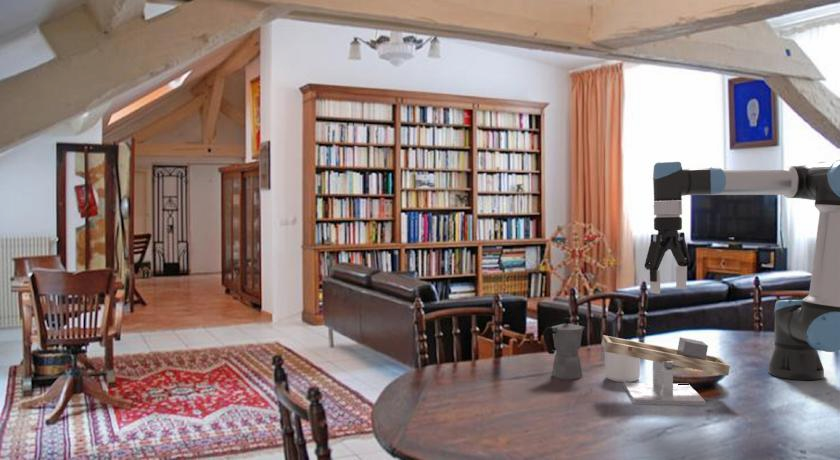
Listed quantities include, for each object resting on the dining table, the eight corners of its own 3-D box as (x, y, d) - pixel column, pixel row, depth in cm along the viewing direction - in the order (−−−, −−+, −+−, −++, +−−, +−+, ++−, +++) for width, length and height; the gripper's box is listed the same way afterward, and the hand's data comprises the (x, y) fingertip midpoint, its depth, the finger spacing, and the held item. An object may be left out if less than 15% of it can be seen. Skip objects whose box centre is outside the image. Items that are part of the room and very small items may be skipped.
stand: (688, 388, 204) (688, 349, 203) (705, 405, 186) (705, 363, 186) (623, 386, 206) (623, 348, 206) (634, 404, 188) (634, 362, 188)
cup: (641, 384, 209) (641, 350, 209) (606, 382, 211) (606, 349, 211) (637, 375, 219) (637, 343, 218) (604, 374, 221) (604, 342, 220)
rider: (698, 359, 197) (702, 341, 197) (704, 364, 191) (708, 345, 191) (676, 354, 198) (679, 337, 198) (681, 359, 192) (685, 341, 192)
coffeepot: (574, 370, 226) (574, 313, 226) (594, 376, 218) (594, 318, 217) (534, 375, 220) (534, 317, 219) (552, 382, 211) (552, 322, 211)
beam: (716, 369, 199) (718, 357, 199) (727, 378, 189) (730, 365, 188) (600, 347, 203) (603, 335, 203) (605, 354, 192) (608, 342, 192)
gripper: (679, 215, 214) (679, 285, 214) (630, 217, 198) (631, 294, 198) (702, 215, 208) (703, 287, 209) (655, 217, 192) (656, 296, 193)
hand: (668, 291), depth 203 cm, fingers open, 13 cm apart
